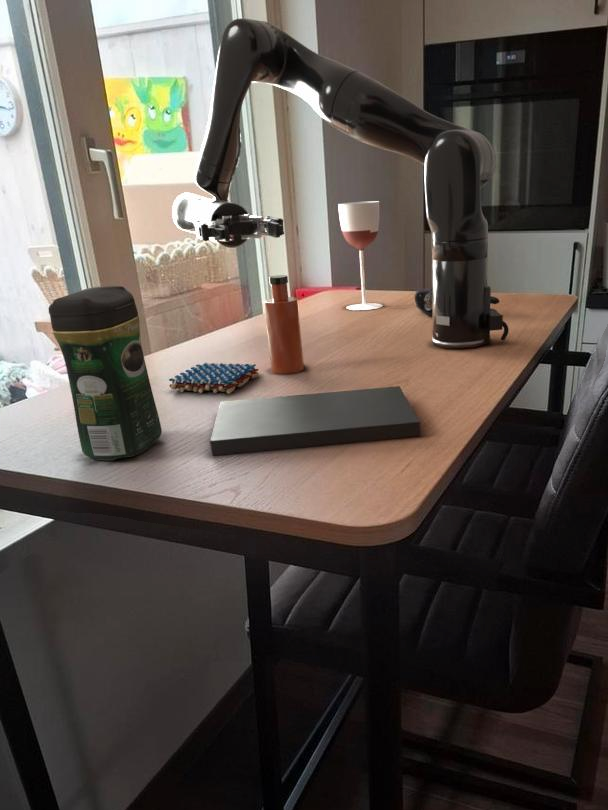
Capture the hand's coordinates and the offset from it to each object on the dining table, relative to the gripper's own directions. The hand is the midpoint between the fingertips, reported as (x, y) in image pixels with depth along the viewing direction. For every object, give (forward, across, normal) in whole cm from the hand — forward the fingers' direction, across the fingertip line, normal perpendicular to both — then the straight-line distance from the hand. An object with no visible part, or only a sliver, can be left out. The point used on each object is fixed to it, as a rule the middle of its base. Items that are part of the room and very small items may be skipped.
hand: (253, 232), depth 113 cm
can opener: (-6, +44, +20) cm, 49 cm away
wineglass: (-29, +34, +21) cm, 50 cm away
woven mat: (+12, -12, +20) cm, 26 cm away
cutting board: (+39, -7, +18) cm, 43 cm away
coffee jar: (+33, -29, +19) cm, 48 cm away
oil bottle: (+12, 0, +20) cm, 23 cm away
